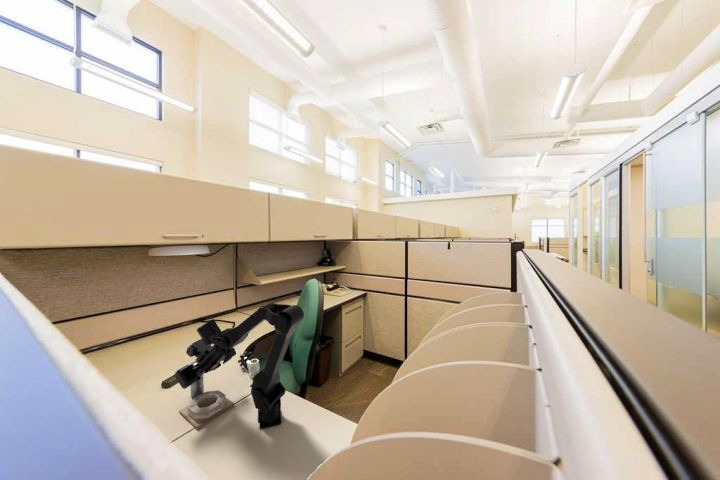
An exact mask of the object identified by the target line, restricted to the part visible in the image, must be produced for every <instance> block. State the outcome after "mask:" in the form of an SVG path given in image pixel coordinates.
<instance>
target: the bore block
mask: <svg viewBox="0 0 720 480" xmlns="http://www.w3.org/2000/svg"><path fill="white" fill-rule="evenodd" d="M235 406H236V405H235V403H234V402H233V401H231V400H230V398H227V397H226V394H225V393H223V391H220V390H210V391H204V393H203V394H201V395H199V396H197V397H195V398H192V400H191V402H190V404H189V405H186V406H185V407H183V408H180V409H179V411H178V412H179V414H180V415H181V416H182V417H183V418H184V419H185V420H187V421H188V423H190V425H192V426H193V428H195V429H196V430H199V429H201V428H202V427H204V426H206V425H207V424H209V423H210V422H212V421H213V420H215V419H216V417H217V418H218V417H220V416H221V415H224V413H226V412H228V411H230V410H231V409H232V408H234V407H235ZM227 410H228V411H227ZM219 415H220V416H219Z"/></svg>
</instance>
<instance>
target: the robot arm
mask: <svg viewBox="0 0 720 480" xmlns="http://www.w3.org/2000/svg"><path fill="white" fill-rule="evenodd" d="M304 318H305V312H304V311H303V309H302V308H301V306H299V305H297V304H293V305H291V304H284V303H282V304H280V303H275V302H268V303H266V304H263V305H261V306H260V307H258V309H257V310H256V311H254V312H253V313H252V314H250V315H249V316H248V317H247V318H246V319H244V320H243V321H242V322H241V323H239V324H238V325H237V326H235V327H233V328H231V327H228V328H226V329H224V330H222V329H221V328H220V326H219V325H218V324H217V322H216V320H215V319H214V318H212V319H209V320H208V321H207V322H206V323H204V324H202V325H200V326H199V327H198V328H196V332H197V334H198V335H199V337H200V338H201V339H198V340H195V341H194V342H192V343H191V344H189V346H188V347H187V348H186V350H185V351H186V352H185V353H186V354H187V355H188V357H190V358H192V357H195V358H196V359H195V361H196V362H197V363H198V362H199V363H198V364H196V365H195V367H196V368H195V367H194V366H193V364H191V363H190V364H191V365H190V364H186V365H185V366H182V367H181V368H178V369H177V370H176V371H175V372H174V375H173V376H174V377H175V379H176V380H177V382H178V383H179V385H180V387H181V388H182V389H187V388H189V387H191V385H192V384H193V383H195V382H197V381H198V380H200V379H201V377H200V376H201V375H202V373H203V375H204V374H207V373H210V372H213V371H215V370H216V369H218V368H220V367H221V365H222V364H223V365H225V364H226V363H228V362H230V361H231V360H232V358H233V357H235V356H236V355H237V351H236V349H235V347H236V346H238V345H239V344H242V343H243V342H244V341H245V340H246V339H247V337H248V336H249V334H250V332H251V331H252V330H254V329H256V328H257V327H259V325H261V324H262V323H263V322H264V321H266V322H267V323H268V324H269V325H270V326H273V327H274V331H275V336H274V338H273V343H272V345H271V348H270V351H269V353H268V357H267V359H266V362H265V365H264V367H263V368H262V369H261V370H259V373H257V374H256V375H255V376H254V378H253V379H252V383H251V384H250V386H249V388H250V387H251V389H250V393H251V397H252V400H253V404H254V407H255V409H256V410H257V423H258V424H259V426H258V427H259V430H262V429H265V428H271V427H275V426H278V425H281V424H282V407H281V406H282V401H281V400H282V397H283V396H285V393H286V391H287V390H286V388H285V386H284V385H283V384H282V382H281V381H280V380H281V374H280V368H281V367H282V364H283V360H284V357H285V355H286V352H287V350H288V347H289V344H290V341H291V338H292V335H293V334H294V333H295V332H296V330H297V329H298V328H299V326H300V325H301V323H302V322H303V320H304ZM221 363H222V364H221ZM199 370H201V371H199Z"/></svg>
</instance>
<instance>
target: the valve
mask: <svg viewBox="0 0 720 480" xmlns="http://www.w3.org/2000/svg"><path fill="white" fill-rule="evenodd" d="M243 353H244V354H240V355H239V358H240V359H238V360H237V363H238V364H239V366H240V367H241V368H243V366H244V367H246V368H247V369H248V376H249V378H250V380H253V378H254V376H255V375H256V374H257V373H259V372H260V371H261V370H260V369H261V368H260V367H261V366H260V360H259V359H258V358H255V356H254V355H253V352H252V351H249V352H248V351H244V352H243ZM247 356H249V357H247Z"/></svg>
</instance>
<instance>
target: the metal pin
mask: <svg viewBox="0 0 720 480" xmlns="http://www.w3.org/2000/svg"><path fill="white" fill-rule="evenodd" d="M198 363H199V362H198ZM198 363H197V362H196V360H195V361H192V362H191V363H190V364H189V365H191V364H193V366H194V367H195V365H196V364H198ZM195 368H196V367H195ZM199 371H201V370H199ZM200 377H201V379H200V380H198V381H197V382H195V383H193V384H192V385H190V398H191V399H193V398H195V397H197V396H199V395H201V394H203V393H205V391H204V390H205V385H204V384H205V383H204V382H205V381H204V379H205V378H204V374H203V373H202V375H201V376H200Z"/></svg>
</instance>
